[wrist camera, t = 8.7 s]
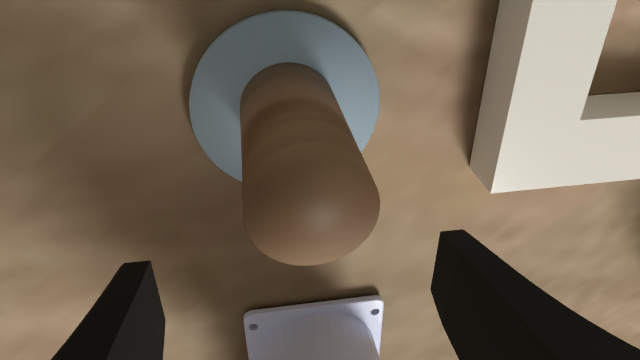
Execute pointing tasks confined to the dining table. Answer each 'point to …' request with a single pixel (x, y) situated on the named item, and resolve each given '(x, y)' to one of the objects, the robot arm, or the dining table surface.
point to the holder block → (552, 101)
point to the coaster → (265, 50)
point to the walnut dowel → (302, 169)
